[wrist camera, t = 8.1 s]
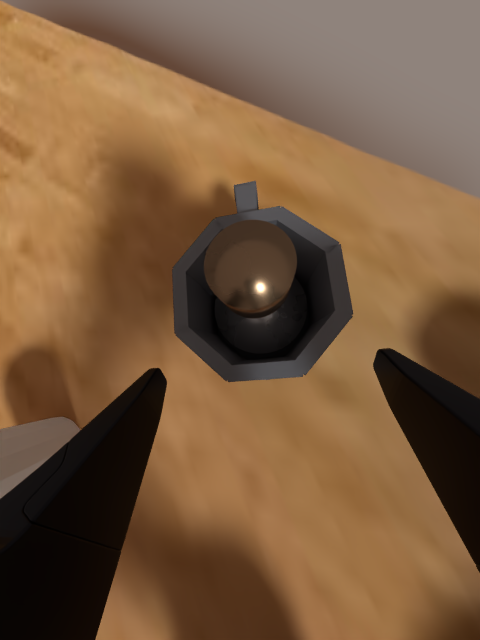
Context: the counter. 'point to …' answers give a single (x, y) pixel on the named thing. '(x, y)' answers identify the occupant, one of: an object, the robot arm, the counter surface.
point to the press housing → (312, 273)
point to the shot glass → (30, 448)
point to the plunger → (255, 286)
